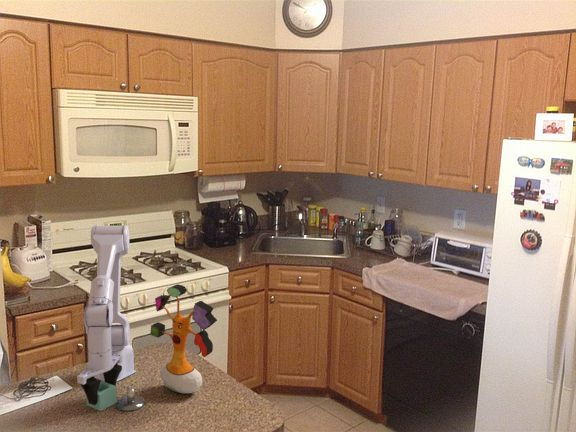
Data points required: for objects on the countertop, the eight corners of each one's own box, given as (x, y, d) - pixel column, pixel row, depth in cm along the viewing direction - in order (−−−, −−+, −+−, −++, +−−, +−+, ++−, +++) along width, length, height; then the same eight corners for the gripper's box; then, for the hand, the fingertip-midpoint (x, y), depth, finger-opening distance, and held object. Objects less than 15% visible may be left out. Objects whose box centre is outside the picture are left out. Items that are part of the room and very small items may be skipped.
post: (131, 395, 150) (131, 379, 149) (150, 402, 146) (149, 387, 145) (111, 406, 144) (110, 390, 143) (129, 414, 140) (129, 397, 139)
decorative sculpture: (222, 393, 152) (222, 288, 147) (206, 406, 145) (206, 297, 139) (163, 377, 160) (161, 277, 155) (145, 389, 153) (142, 285, 148)
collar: (103, 396, 148) (102, 380, 148) (117, 402, 146) (116, 386, 145) (86, 404, 144) (85, 388, 143) (100, 411, 141) (99, 394, 140)
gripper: (106, 336, 150) (108, 382, 153) (66, 357, 137) (69, 407, 139) (127, 341, 148) (128, 388, 150) (89, 362, 134) (91, 413, 137)
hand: (101, 397), depth 145 cm, fingers closed on collar, 6 cm apart
